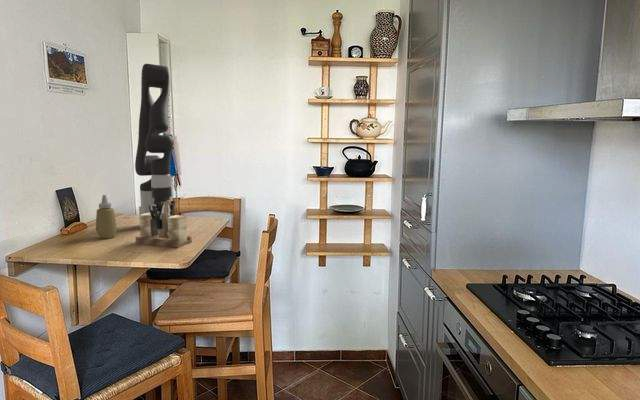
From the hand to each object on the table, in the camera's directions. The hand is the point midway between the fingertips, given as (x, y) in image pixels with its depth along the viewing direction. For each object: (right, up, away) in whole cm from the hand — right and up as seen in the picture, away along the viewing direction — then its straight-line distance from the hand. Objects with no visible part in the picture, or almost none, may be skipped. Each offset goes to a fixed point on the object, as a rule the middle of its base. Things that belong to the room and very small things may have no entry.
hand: (163, 227), depth 177 cm
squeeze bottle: (-27, -5, +8) cm, 28 cm away
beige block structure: (0, -6, +1) cm, 6 cm away
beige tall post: (0, -4, +1) cm, 4 cm away
